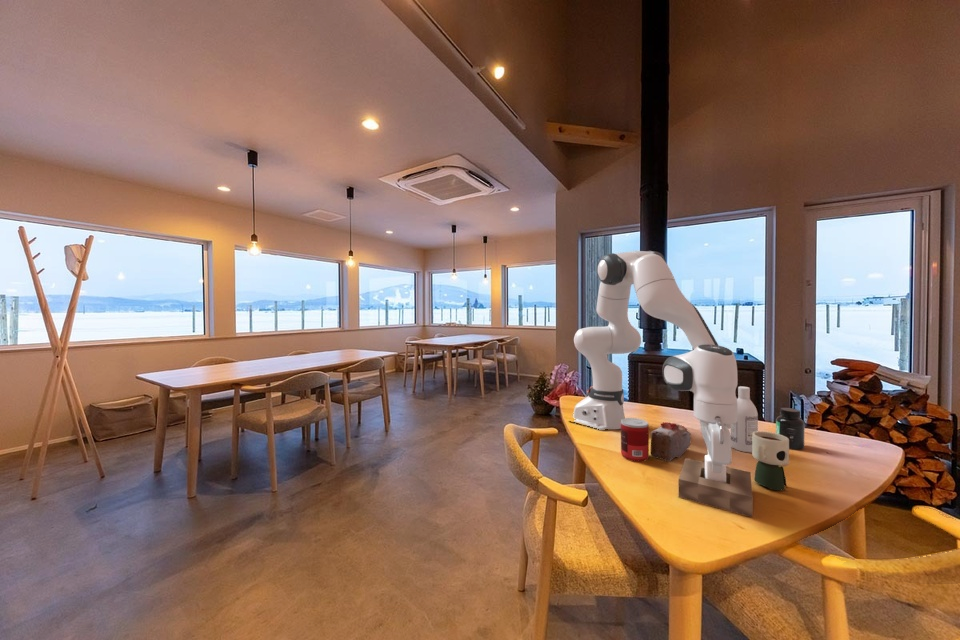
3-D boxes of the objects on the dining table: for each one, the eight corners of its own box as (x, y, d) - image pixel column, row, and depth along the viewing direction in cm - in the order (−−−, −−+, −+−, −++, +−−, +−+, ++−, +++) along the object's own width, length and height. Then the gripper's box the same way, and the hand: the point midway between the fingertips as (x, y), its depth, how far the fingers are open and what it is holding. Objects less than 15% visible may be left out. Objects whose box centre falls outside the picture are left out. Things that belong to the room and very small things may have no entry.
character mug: (778, 499, 80) (778, 445, 80) (743, 485, 87) (743, 435, 86) (797, 486, 86) (797, 436, 85) (762, 475, 92) (763, 427, 92)
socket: (678, 497, 82) (678, 478, 82) (685, 474, 93) (685, 458, 93) (752, 517, 73) (752, 497, 73) (750, 489, 85) (750, 472, 84)
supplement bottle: (774, 445, 111) (774, 409, 110) (777, 440, 115) (777, 405, 115) (803, 452, 106) (803, 414, 105) (805, 446, 110) (805, 409, 110)
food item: (666, 444, 114) (666, 415, 114) (692, 451, 108) (692, 421, 108) (647, 456, 105) (647, 424, 105) (675, 464, 99) (675, 431, 99)
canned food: (654, 458, 103) (654, 422, 103) (637, 464, 99) (637, 427, 99) (632, 449, 110) (631, 416, 110) (615, 455, 106) (615, 420, 106)
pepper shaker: (706, 485, 82) (706, 446, 82) (704, 477, 86) (704, 440, 86) (726, 488, 80) (726, 449, 80) (723, 481, 84) (723, 443, 84)
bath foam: (760, 449, 109) (760, 387, 108) (754, 455, 104) (754, 390, 104) (733, 442, 114) (734, 383, 113) (727, 448, 109) (727, 387, 109)
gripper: (740, 426, 72) (740, 490, 72) (723, 402, 90) (723, 453, 91) (704, 422, 75) (705, 484, 75) (695, 400, 93) (695, 449, 93)
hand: (714, 467), depth 83 cm, fingers closed on pepper shaker, 4 cm apart
